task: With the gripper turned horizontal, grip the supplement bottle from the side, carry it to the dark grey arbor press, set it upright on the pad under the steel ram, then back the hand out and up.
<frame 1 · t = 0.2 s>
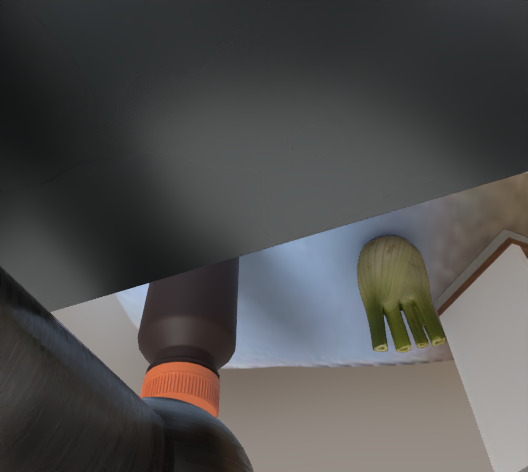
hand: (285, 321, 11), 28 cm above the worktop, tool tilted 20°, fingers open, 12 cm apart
vinegar: (204, 209, 45), on the worktop
fennel bulb: (384, 244, 49), on the worktop
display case: (507, 279, 52), on the worktop
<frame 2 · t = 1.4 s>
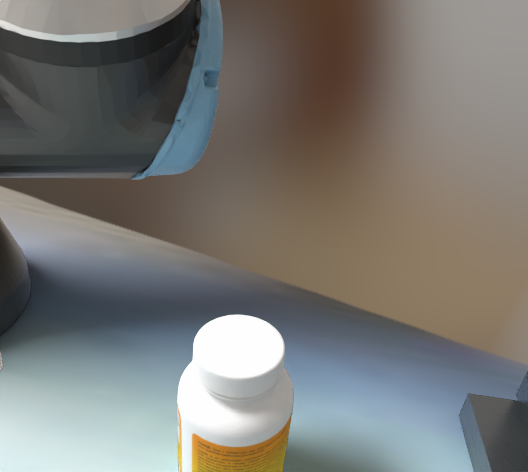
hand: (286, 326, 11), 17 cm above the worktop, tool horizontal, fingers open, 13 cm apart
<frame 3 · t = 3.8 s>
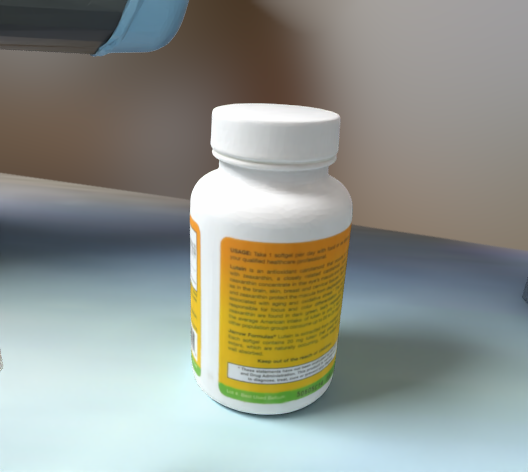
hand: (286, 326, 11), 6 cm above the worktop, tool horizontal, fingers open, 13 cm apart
supplement bottle: (262, 374, 19), on the worktop
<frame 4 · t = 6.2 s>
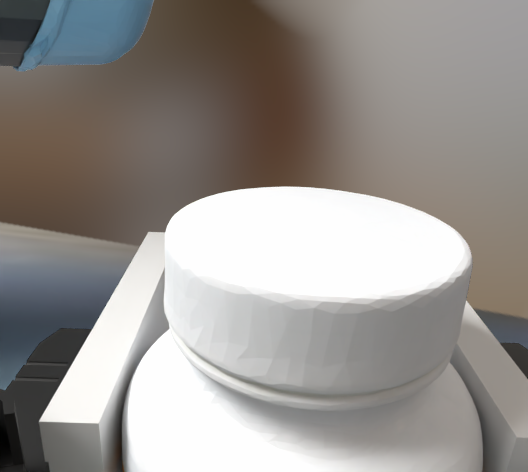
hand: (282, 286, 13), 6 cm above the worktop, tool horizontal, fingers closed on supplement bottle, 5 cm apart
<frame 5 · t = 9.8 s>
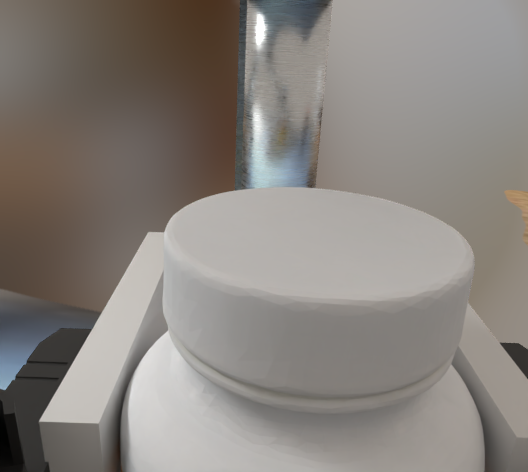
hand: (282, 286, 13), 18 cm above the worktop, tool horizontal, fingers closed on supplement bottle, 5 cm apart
when the fingers open (10 cm above the worktop, at t = 13.6 s): supplement bottle drops 1 cm, resting on arbor press.
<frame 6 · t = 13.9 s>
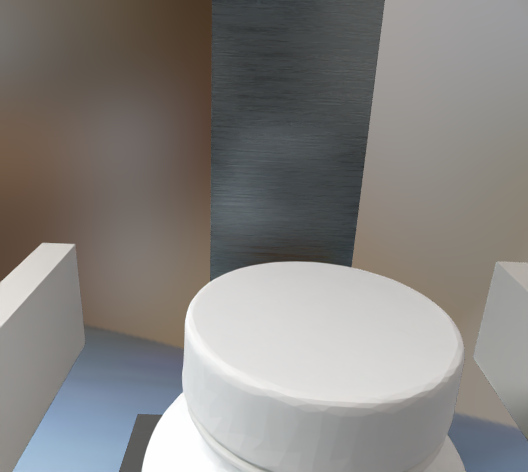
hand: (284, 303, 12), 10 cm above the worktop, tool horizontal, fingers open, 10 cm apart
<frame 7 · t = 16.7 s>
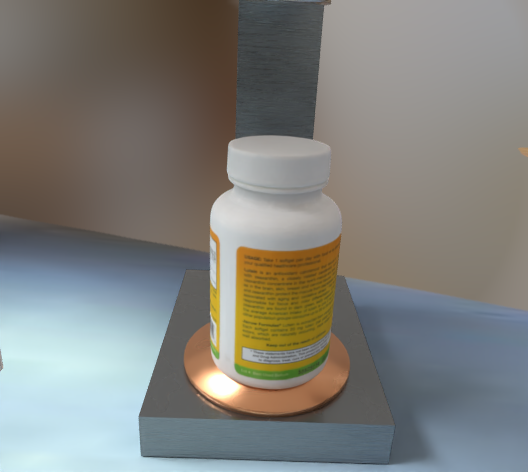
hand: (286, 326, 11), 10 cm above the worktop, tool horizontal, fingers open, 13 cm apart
arbor press: (264, 393, 24), on the worktop
supplement bottle: (269, 358, 23), point 2 cm above the worktop, touching arbor press
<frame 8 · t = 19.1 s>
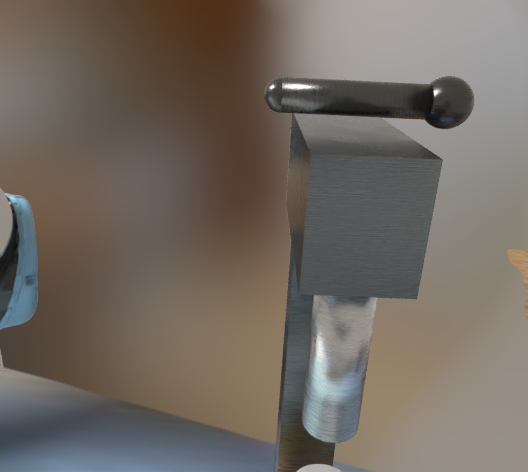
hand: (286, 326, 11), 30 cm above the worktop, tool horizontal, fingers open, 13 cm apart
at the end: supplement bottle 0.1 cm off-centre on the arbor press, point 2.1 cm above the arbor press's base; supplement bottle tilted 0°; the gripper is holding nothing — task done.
